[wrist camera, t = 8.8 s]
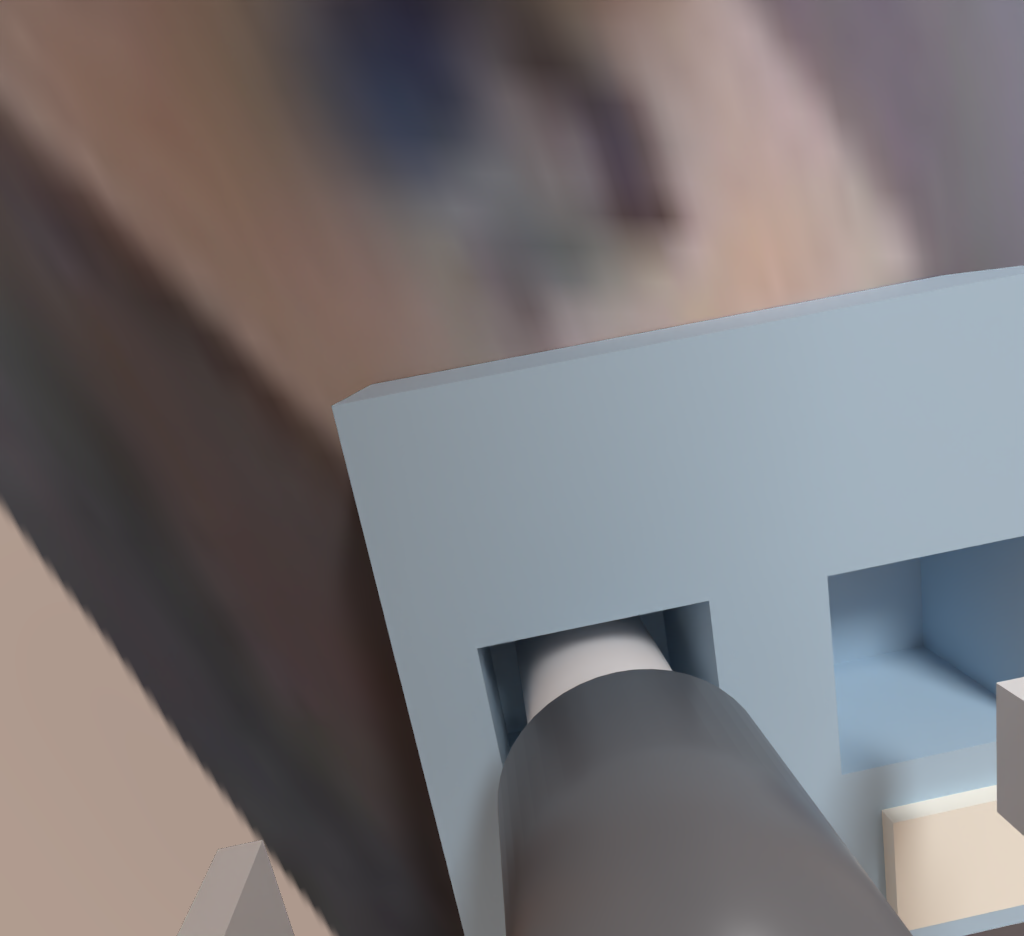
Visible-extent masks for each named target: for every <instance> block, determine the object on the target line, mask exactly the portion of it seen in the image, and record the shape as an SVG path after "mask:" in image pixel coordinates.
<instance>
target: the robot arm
mask: <svg viewBox="0 0 1024 936" xmlns="http://www.w3.org/2000/svg"><path fill="white" fill-rule="evenodd" d="M996 748H997V812H998V813H999V814H1000V815H1001V816H1002V817H1003V818H1004V819H1005V820H1006V821H1008V822H1009V823H1010V824H1011V825H1012V826H1013V827H1014V828H1015V829H1016V830H1018V831H1019V832H1020V833H1021V834H1022V835H1023V836H1024V677H1021V678H1016V679H1011V680H1007V681H1002V682H997V683H996ZM177 936H294V933H293V930H292V927H291V924H290V921H289V918H288V915H287V912H286V909H285V906H284V903H283V900H282V897H281V893H280V891H279V888H278V884H277V881H276V879H275V875H274V872H273V869H272V866H271V863H270V860H269V857H268V854H267V851H266V848H265V845H264V842H263V840H259V841H254V842H250V843H245V844H240V845H235V846H231V847H226V848H221V849H218V851H217V853H216V855H215V857H214V859H213V861H212V863H211V865H210V867H209V869H208V871H207V873H206V875H205V878H204V880H203V882H202V884H201V886H200V888H199V890H198V892H197V894H196V896H195V898H194V901H193V903H192V905H191V907H190V909H189V911H188V913H187V915H186V917H185V919H184V921H183V924H182V926H181V928H180V930H179V932H178V934H177Z"/></svg>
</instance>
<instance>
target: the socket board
mask: <svg viewBox="0 0 1024 936" xmlns="http://www.w3.org/2000/svg"><path fill="white" fill-rule="evenodd" d="M332 410H333V414H334V418H335V422H336V426H337V430H338V434H339V438H340V442H341V446H342V450H343V454H344V458H345V462H346V466H347V470H348V474H349V478H350V482H351V486H352V490H353V494H354V498H355V502H356V506H357V510H358V514H359V518H360V522H361V526H362V530H363V534H364V537H365V541H366V545H367V549H368V553H369V557H370V561H371V565H372V569H373V573H374V577H375V581H376V585H377V589H378V593H379V597H380V601H381V605H382V609H383V613H384V617H385V621H386V625H387V629H388V633H389V637H390V641H391V645H392V649H393V653H394V657H395V661H396V665H397V669H398V673H399V677H400V681H401V685H402V689H403V693H404V697H405V700H406V704H407V708H408V712H409V716H410V720H411V724H412V728H413V732H414V736H415V740H416V744H417V748H418V752H419V756H420V760H421V764H422V768H423V772H424V776H425V780H426V784H427V788H428V792H429V796H430V800H431V804H432V808H433V812H434V816H435V820H436V824H437V828H438V832H439V836H440V840H441V844H442V848H443V852H444V856H445V860H446V863H447V867H448V871H449V875H450V879H451V883H452V887H453V891H454V895H455V899H456V903H457V907H458V911H459V915H460V919H461V923H462V927H463V931H464V935H465V936H506V929H505V914H504V898H503V883H502V868H501V853H500V837H499V822H498V788H499V781H500V776H501V773H502V769H503V766H504V763H505V760H506V758H507V756H508V754H509V752H510V750H511V747H512V745H513V744H514V742H515V741H516V739H517V738H518V736H519V735H520V733H521V731H522V730H523V729H524V728H525V727H526V725H527V724H528V723H527V717H526V711H525V704H524V698H523V691H522V685H521V679H520V672H519V666H518V660H517V653H516V645H515V641H516V640H521V639H526V638H530V637H535V636H540V635H545V634H550V633H555V632H560V631H564V630H569V629H574V628H579V627H584V626H589V625H594V624H598V623H603V622H608V621H613V620H618V619H623V618H628V617H632V616H637V615H639V617H640V618H641V620H642V622H643V623H644V625H645V626H646V628H647V630H648V631H649V633H650V635H651V636H652V638H653V640H654V641H655V643H656V644H657V646H658V648H659V649H660V651H661V653H662V654H663V656H664V658H665V659H666V661H667V662H668V664H669V666H670V667H671V669H672V671H675V672H680V673H684V674H689V675H691V676H694V677H697V678H700V679H702V680H705V681H707V682H709V683H711V684H713V685H715V686H716V687H718V688H720V689H722V690H723V691H724V692H726V693H727V694H728V695H730V696H731V697H733V698H734V699H735V700H736V701H737V702H738V703H739V704H740V705H741V706H742V707H743V708H744V709H745V710H746V711H747V713H748V714H749V715H750V717H751V718H752V719H753V721H754V722H755V723H756V725H757V726H758V727H759V729H760V730H761V732H762V733H763V734H764V736H765V737H766V738H767V740H768V741H769V742H770V744H771V745H772V746H773V748H774V749H775V750H776V752H777V753H778V754H779V756H780V757H781V758H782V760H783V761H784V763H785V764H786V765H787V767H788V768H789V769H790V771H791V772H792V773H793V775H794V776H795V777H796V779H797V780H798V781H799V783H800V784H801V785H802V787H803V788H804V790H805V791H806V792H807V794H808V795H809V796H810V798H811V799H812V800H813V802H814V803H815V804H816V806H817V807H818V808H819V810H820V811H821V812H822V814H823V815H824V817H825V818H826V819H827V821H828V822H829V823H830V825H831V826H832V827H833V829H834V830H835V831H836V833H837V834H838V835H839V837H840V838H841V839H842V841H843V842H844V843H845V845H846V846H847V848H848V849H849V850H850V852H851V853H852V854H853V856H854V857H855V858H856V860H857V861H858V862H859V864H860V865H861V866H862V868H863V869H864V870H865V872H866V873H867V875H868V876H869V877H870V879H871V880H872V881H873V883H874V884H875V885H876V887H877V888H878V889H879V891H880V892H881V893H882V895H883V896H884V897H885V899H886V900H887V902H888V903H889V904H890V906H891V907H892V908H893V910H894V911H895V912H896V914H897V915H898V916H899V918H900V919H901V920H902V922H903V923H904V924H905V926H906V927H907V928H908V930H909V931H910V933H911V934H912V935H913V936H964V935H968V934H973V933H977V932H982V931H986V930H990V929H995V928H999V927H1004V926H1008V925H1012V924H1017V923H1021V922H1024V836H1023V835H1022V834H1021V833H1020V832H1019V831H1018V830H1016V829H1015V828H1014V827H1013V826H1012V825H1011V824H1010V823H1009V822H1008V821H1006V820H1005V819H1004V818H1003V817H1002V816H1001V815H1000V814H999V813H998V812H997V748H996V683H997V682H1002V681H1007V680H1011V679H1016V678H1021V677H1024V266H1016V267H1007V268H999V269H991V270H983V271H975V272H966V273H958V274H950V275H943V276H937V277H932V278H927V279H922V280H916V281H911V282H906V283H901V284H895V285H890V286H885V287H880V288H875V289H869V290H864V291H859V292H854V293H848V294H843V295H838V296H833V297H827V298H822V299H817V300H812V301H806V302H801V303H796V304H791V305H785V306H780V307H775V308H770V309H764V310H759V311H754V312H749V313H743V314H738V315H733V316H728V317H722V318H717V319H712V320H707V321H701V322H696V323H691V324H686V325H681V326H675V327H670V328H665V329H660V330H654V331H649V332H644V333H639V334H633V335H628V336H623V337H618V338H612V339H607V340H602V341H597V342H591V343H586V344H581V345H576V346H570V347H565V348H560V349H555V350H549V351H544V352H539V353H534V354H528V355H523V356H518V357H513V358H508V359H502V360H497V361H492V362H487V363H481V364H476V365H471V366H466V367H460V368H455V369H450V370H445V371H439V372H434V373H429V374H424V375H418V376H413V377H408V378H403V379H397V380H392V381H387V382H382V383H376V384H371V385H369V386H367V387H366V388H364V389H362V390H360V391H358V392H356V393H354V394H353V395H351V396H349V397H347V398H345V399H343V400H342V401H340V402H338V403H336V404H334V405H332Z"/></svg>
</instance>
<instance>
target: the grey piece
mask: <svg viewBox="0 0 1024 936" xmlns="http://www.w3.org/2000/svg"><path fill="white" fill-rule="evenodd" d="M515 645H516V653H517V660H518V666H519V672H520V679H521V685H522V691H523V698H524V704H525V711H526V717H527V723H528V724H527V725H526V727H525V728H524V729H523V730H522V731H521V733H520V735H519V736H518V738H517V739H516V741H515V742H514V744H513V745H512V747H511V750H510V752H509V754H508V756H507V758H506V760H505V763H504V766H503V769H502V773H501V776H500V781H499V788H498V822H499V837H500V853H501V868H502V883H503V898H504V914H505V929H506V936H913V935H912V934H911V933H910V931H909V930H908V928H907V927H906V926H905V924H904V923H903V922H902V920H901V919H900V918H899V916H898V915H897V914H896V912H895V911H894V910H893V908H892V907H891V906H890V904H889V903H888V902H887V900H886V899H885V897H884V896H883V895H882V893H881V892H880V891H879V889H878V888H877V887H876V885H875V884H874V883H873V881H872V880H871V879H870V877H869V876H868V875H867V873H866V872H865V870H864V869H863V868H862V866H861V865H860V864H859V862H858V861H857V860H856V858H855V857H854V856H853V854H852V853H851V852H850V850H849V849H848V848H847V846H846V845H845V843H844V842H843V841H842V839H841V838H840V837H839V835H838V834H837V833H836V831H835V830H834V829H833V827H832V826H831V825H830V823H829V822H828V821H827V819H826V818H825V817H824V815H823V814H822V812H821V811H820V810H819V808H818V807H817V806H816V804H815V803H814V802H813V800H812V799H811V798H810V796H809V795H808V794H807V792H806V791H805V790H804V788H803V787H802V785H801V784H800V783H799V781H798V780H797V779H796V777H795V776H794V775H793V773H792V772H791V771H790V769H789V768H788V767H787V765H786V764H785V763H784V761H783V760H782V758H781V757H780V756H779V754H778V753H777V752H776V750H775V749H774V748H773V746H772V745H771V744H770V742H769V741H768V740H767V738H766V737H765V736H764V734H763V733H762V732H761V730H760V729H759V727H758V726H757V725H756V723H755V722H754V721H753V719H752V718H751V717H750V715H749V714H748V713H747V711H746V710H745V709H744V708H743V707H742V706H741V705H740V704H739V703H738V702H737V701H736V700H735V699H734V698H733V697H731V696H730V695H728V694H727V693H726V692H724V691H723V690H722V689H720V688H718V687H716V686H715V685H713V684H711V683H709V682H707V681H705V680H702V679H700V678H697V677H694V676H691V675H689V674H684V673H680V672H675V671H672V669H671V667H670V666H669V664H668V662H667V661H666V659H665V658H664V656H663V654H662V653H661V651H660V649H659V648H658V646H657V644H656V643H655V641H654V640H653V638H652V636H651V635H650V633H649V631H648V630H647V628H646V626H645V625H644V623H643V622H642V620H641V618H640V617H639V615H637V616H632V617H628V618H623V619H618V620H613V621H608V622H603V623H598V624H594V625H589V626H584V627H579V628H574V629H569V630H564V631H560V632H555V633H550V634H545V635H540V636H535V637H530V638H526V639H521V640H516V641H515Z"/></svg>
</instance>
